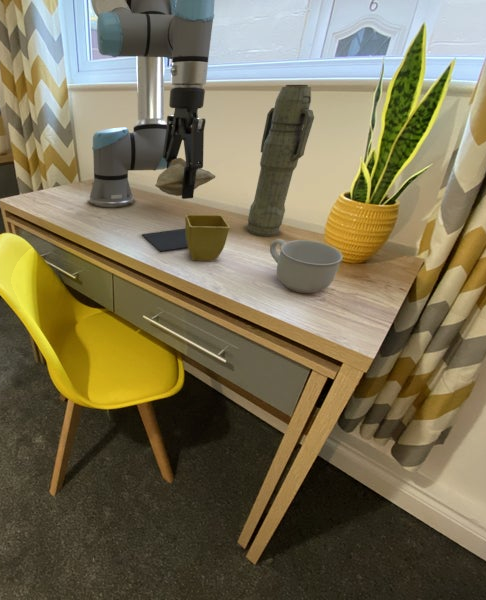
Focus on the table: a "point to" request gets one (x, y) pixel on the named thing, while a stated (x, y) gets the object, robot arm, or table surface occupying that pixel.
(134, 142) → the robot arm
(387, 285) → the table surface
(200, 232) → the flower pot
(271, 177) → the thermos
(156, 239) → the mat
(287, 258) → the teacup
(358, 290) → the table surface
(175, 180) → the seashell
